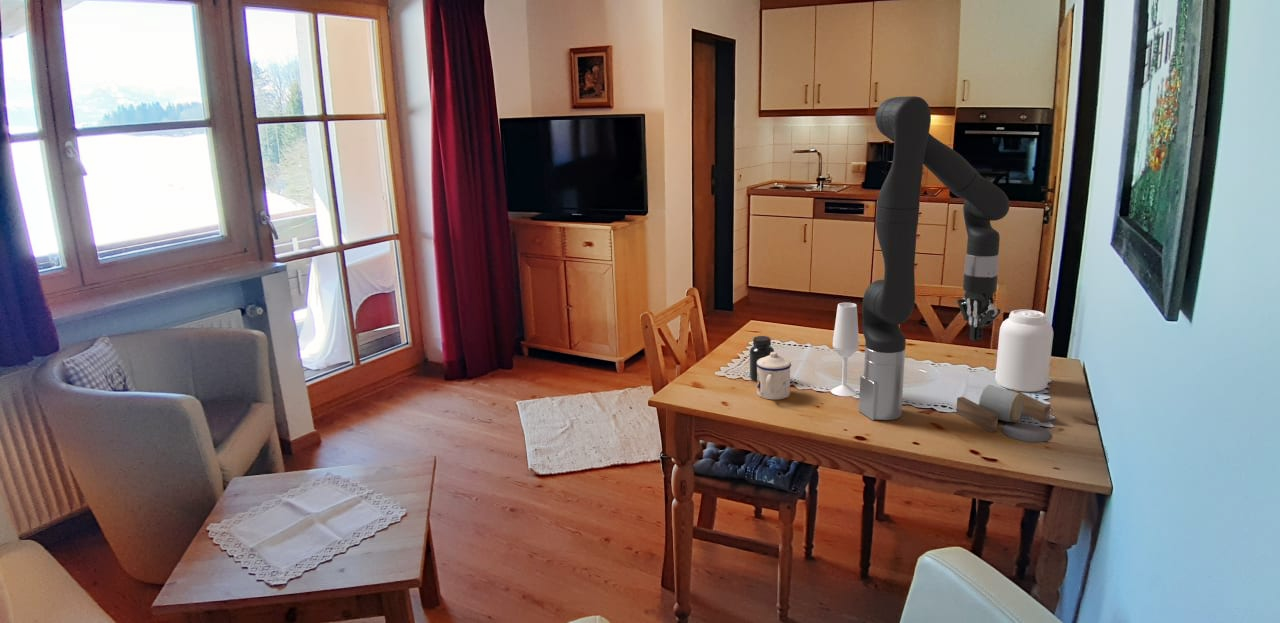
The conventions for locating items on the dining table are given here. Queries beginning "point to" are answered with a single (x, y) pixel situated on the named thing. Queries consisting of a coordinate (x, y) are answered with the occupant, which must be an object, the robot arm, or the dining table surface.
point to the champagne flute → (845, 342)
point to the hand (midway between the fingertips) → (975, 340)
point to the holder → (990, 419)
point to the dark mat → (1026, 432)
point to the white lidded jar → (1024, 351)
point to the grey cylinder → (1002, 403)
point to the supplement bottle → (759, 353)
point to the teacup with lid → (773, 377)
